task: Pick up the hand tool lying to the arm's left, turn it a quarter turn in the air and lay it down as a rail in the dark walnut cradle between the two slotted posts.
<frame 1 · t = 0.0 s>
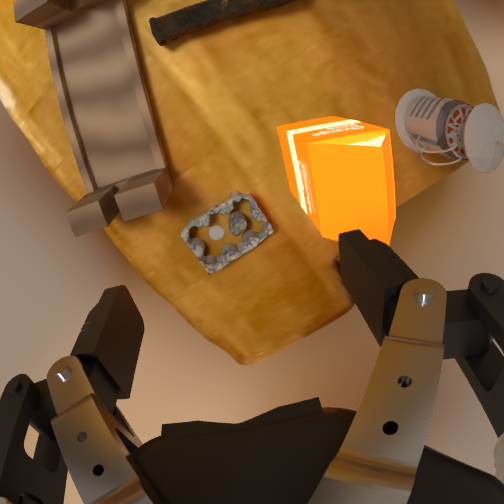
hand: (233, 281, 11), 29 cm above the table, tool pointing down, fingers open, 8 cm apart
hand tool: (229, 7, 28), on the table
cradle: (103, 90, 31), on the table
french press: (417, 123, 37), on the table
orange juice: (311, 152, 38), on the table
egg carton: (225, 223, 42), on the table
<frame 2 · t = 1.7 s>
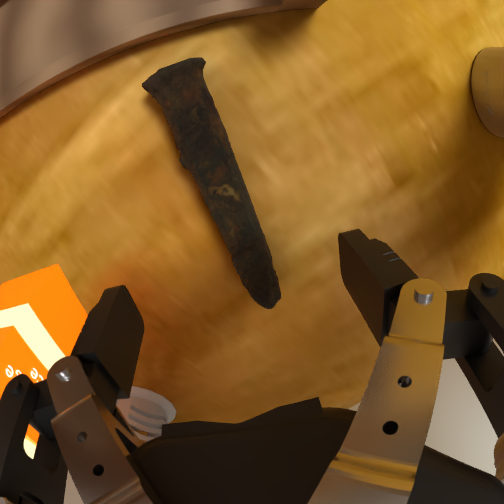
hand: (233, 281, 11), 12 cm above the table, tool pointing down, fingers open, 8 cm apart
hand tool: (233, 183, 23), on the table
french press: (133, 403, 34), on the table
orange juice: (46, 303, 26), on the table
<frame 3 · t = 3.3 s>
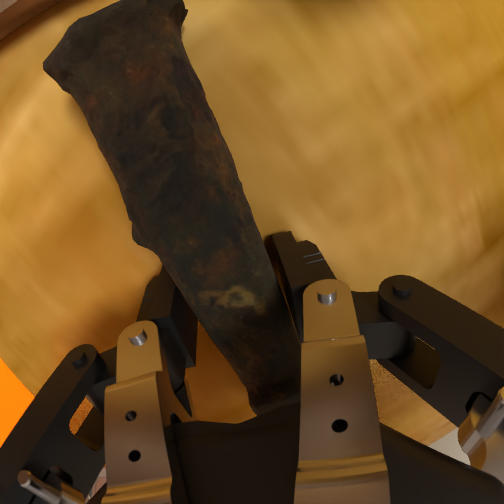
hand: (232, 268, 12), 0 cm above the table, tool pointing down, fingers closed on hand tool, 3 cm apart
hand tool: (246, 252, 12), on the table, touching gripper
french press: (116, 479, 24), on the table
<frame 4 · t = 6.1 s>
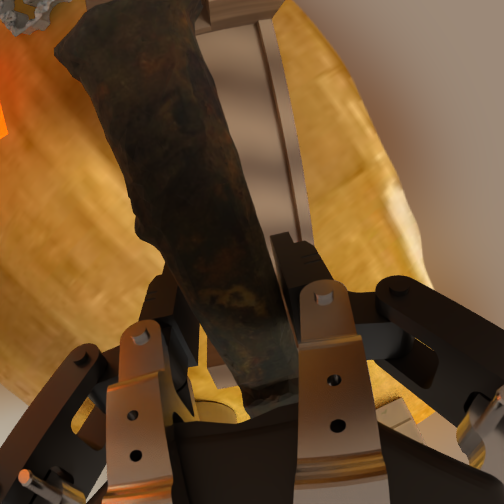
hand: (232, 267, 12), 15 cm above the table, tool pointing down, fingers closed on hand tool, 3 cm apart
hand tool: (245, 253, 12), point 15 cm above the table, touching gripper
cradle: (232, 173, 25), on the table
syrup box: (388, 408, 47), on the table
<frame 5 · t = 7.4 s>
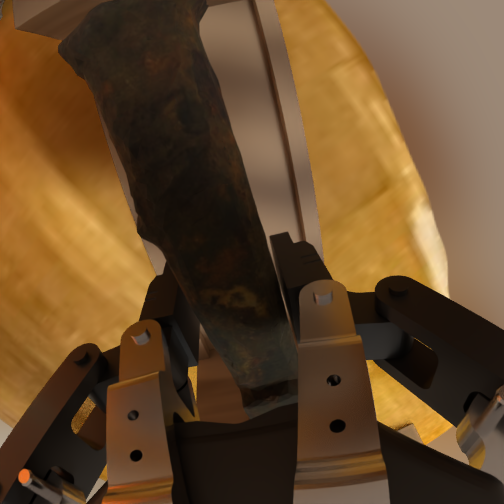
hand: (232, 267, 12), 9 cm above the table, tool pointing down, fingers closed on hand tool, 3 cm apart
hand tool: (246, 253, 12), point 9 cm above the table, touching gripper
cradle: (222, 195, 20), on the table
when the fingers open (3 cm above the table, at t = 8.7 s): hand tool drops 2 cm, resting on cradle.
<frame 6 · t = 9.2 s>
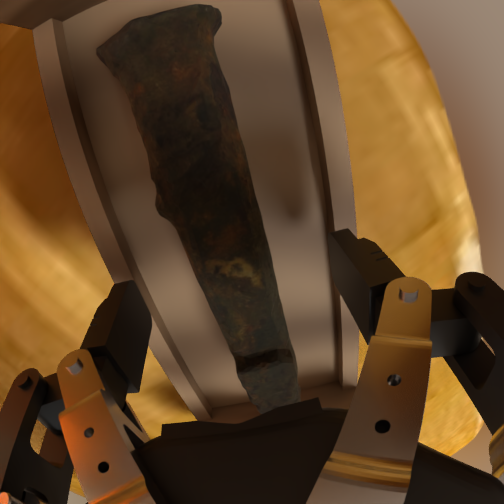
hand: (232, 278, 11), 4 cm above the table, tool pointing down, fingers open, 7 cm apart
hand tool: (243, 237, 14), point 1 cm above the table, touching cradle
cradle: (229, 233, 15), on the table
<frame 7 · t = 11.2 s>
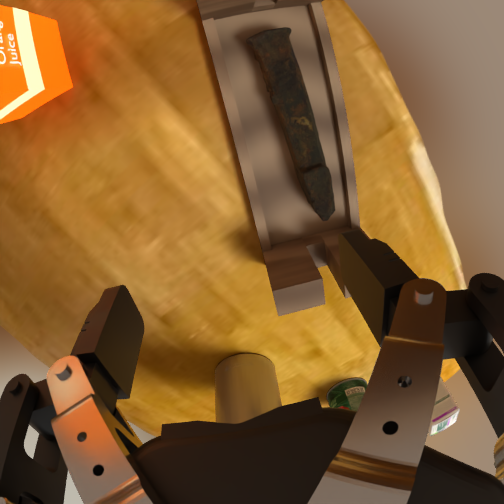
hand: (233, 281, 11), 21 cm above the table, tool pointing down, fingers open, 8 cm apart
hand tool: (298, 124, 28), point 1 cm above the table, touching cradle
cradle: (288, 125, 29), on the table
canned tomato: (346, 389, 51), on the table
syrup box: (413, 366, 51), on the table
orange juice: (37, 68, 22), on the table
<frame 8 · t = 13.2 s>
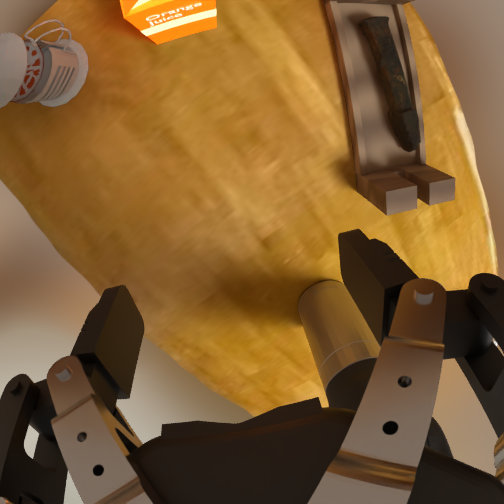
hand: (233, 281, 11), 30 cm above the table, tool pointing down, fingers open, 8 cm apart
hand tool: (389, 83, 34), point 1 cm above the table, touching cradle
cradle: (379, 84, 35), on the table
french press: (62, 67, 29), on the table
orange juice: (179, 7, 28), on the table
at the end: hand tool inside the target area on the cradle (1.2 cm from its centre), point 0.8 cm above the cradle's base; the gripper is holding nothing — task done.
